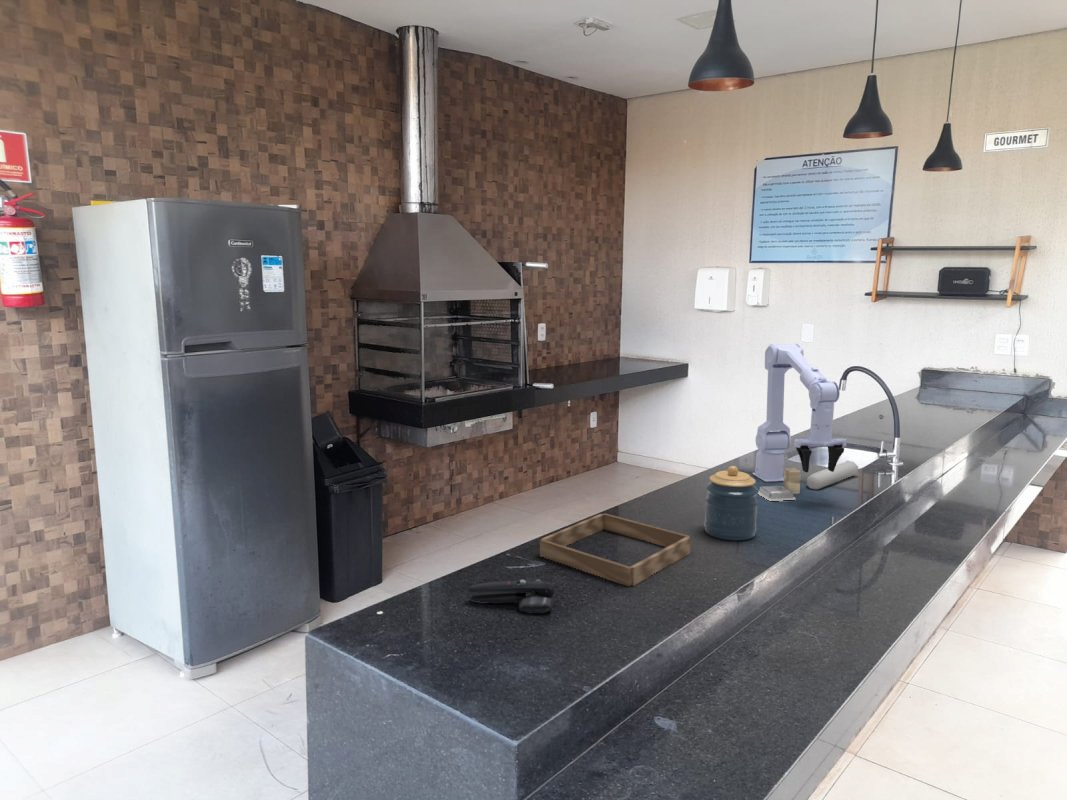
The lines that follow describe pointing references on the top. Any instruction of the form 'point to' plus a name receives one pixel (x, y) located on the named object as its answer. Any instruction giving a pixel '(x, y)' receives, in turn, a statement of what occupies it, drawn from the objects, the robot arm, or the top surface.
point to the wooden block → (792, 480)
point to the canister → (731, 505)
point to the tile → (775, 499)
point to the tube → (832, 475)
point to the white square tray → (768, 489)
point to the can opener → (517, 594)
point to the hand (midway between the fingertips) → (818, 471)
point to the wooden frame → (613, 571)
